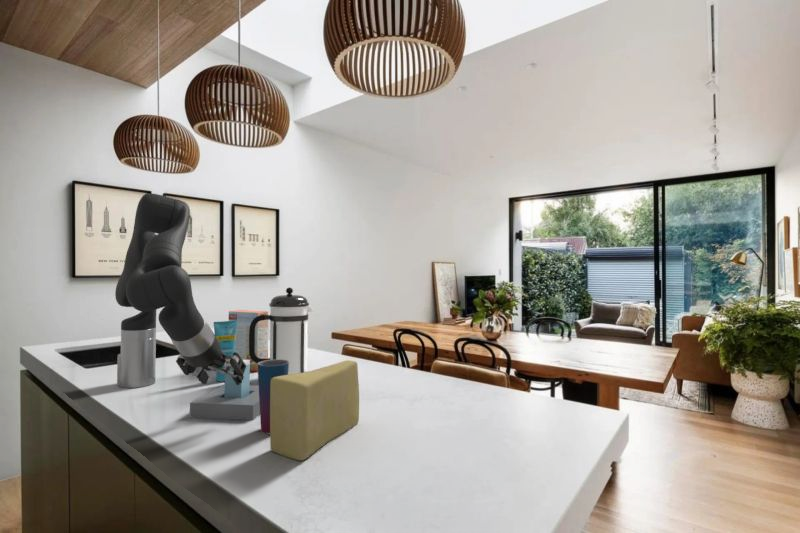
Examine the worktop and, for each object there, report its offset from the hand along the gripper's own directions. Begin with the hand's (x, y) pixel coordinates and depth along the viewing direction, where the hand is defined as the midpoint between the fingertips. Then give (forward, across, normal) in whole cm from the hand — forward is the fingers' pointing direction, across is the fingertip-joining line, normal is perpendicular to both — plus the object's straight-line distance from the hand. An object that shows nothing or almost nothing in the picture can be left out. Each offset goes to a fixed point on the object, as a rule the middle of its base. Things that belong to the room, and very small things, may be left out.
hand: (223, 381), depth 100 cm
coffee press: (+33, -1, -21) cm, 39 cm away
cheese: (+1, -27, +13) cm, 30 cm away
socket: (+12, 0, +1) cm, 12 cm away
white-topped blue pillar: (+12, 0, +1) cm, 12 cm away
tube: (+30, +17, -17) cm, 38 cm away
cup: (+3, -14, +10) cm, 18 cm away
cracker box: (+41, +17, -29) cm, 53 cm away
